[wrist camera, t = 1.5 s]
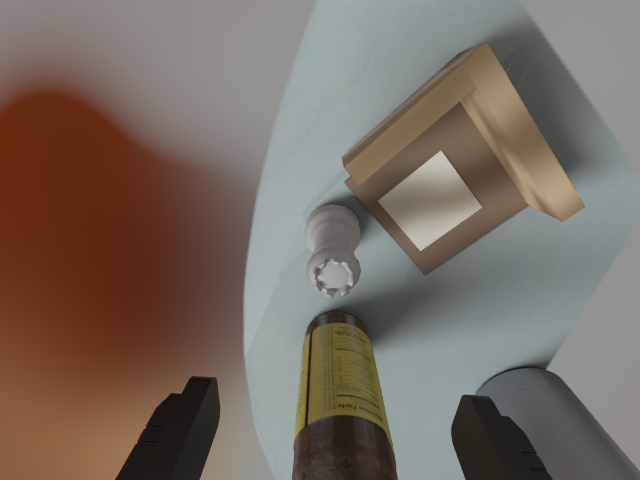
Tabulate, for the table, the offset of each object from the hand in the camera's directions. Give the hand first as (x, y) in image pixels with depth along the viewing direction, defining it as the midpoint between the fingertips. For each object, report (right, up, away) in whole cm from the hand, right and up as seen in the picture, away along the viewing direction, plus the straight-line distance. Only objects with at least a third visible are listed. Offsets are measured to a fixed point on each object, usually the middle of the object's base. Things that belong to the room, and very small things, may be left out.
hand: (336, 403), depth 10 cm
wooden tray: (+8, +10, +13) cm, 18 cm away
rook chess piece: (0, +6, +15) cm, 16 cm away
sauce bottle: (+1, -3, +19) cm, 19 cm away
